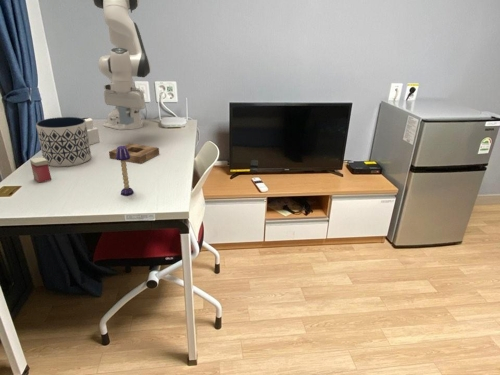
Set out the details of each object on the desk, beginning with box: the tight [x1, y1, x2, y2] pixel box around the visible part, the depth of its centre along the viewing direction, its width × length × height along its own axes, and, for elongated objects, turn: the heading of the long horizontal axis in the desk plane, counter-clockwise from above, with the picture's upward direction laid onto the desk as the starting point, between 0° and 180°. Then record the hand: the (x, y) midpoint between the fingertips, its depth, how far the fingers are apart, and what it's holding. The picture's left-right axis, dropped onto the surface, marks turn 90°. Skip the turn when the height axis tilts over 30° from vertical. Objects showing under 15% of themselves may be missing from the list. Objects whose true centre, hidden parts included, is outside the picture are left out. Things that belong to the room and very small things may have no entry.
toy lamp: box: [115, 145, 135, 197], centre depth 117 cm, size 5×5×17 cm
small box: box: [29, 156, 52, 183], centre depth 126 cm, size 5×4×8 cm
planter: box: [35, 116, 92, 168], centre depth 144 cm, size 18×18×16 cm
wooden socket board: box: [108, 142, 160, 165], centre depth 154 cm, size 16×14×3 cm
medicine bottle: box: [81, 117, 100, 146], centre depth 167 cm, size 7×7×12 cm
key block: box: [118, 106, 134, 125], centre depth 163 cm, size 5×5×8 cm
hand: (126, 116), depth 163 cm, fingers closed on key block, 4 cm apart
